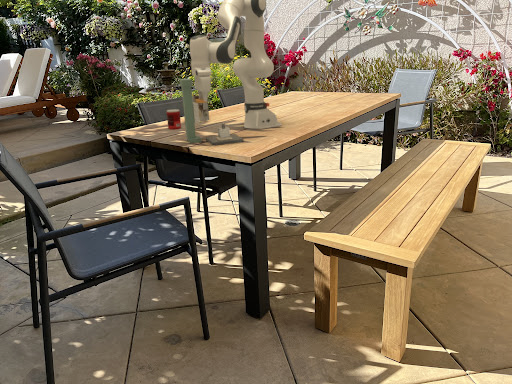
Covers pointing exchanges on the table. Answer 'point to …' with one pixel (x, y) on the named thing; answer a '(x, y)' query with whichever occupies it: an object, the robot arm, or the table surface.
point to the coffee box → (202, 109)
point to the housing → (223, 132)
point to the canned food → (173, 119)
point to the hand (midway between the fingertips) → (203, 100)
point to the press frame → (188, 111)
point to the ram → (197, 109)
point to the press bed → (224, 140)
